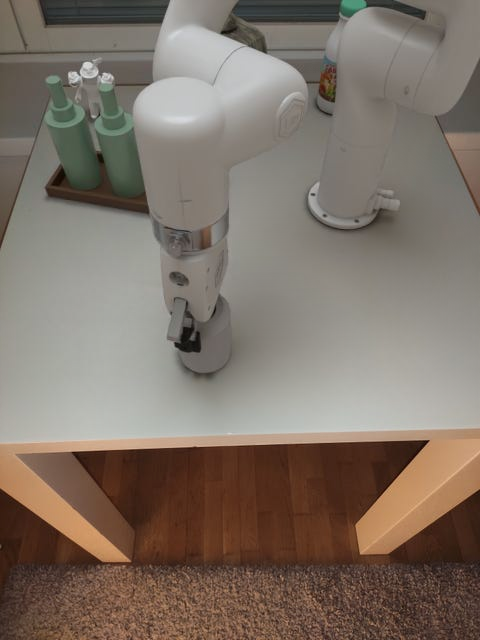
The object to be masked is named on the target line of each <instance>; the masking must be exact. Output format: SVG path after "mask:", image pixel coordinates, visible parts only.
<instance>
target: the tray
mask: <svg viewBox="0 0 480 640" xmlns="http://www.w3.org/2000/svg"><path fill="white" fill-rule="evenodd" d="M96 152H97V156H98V159H99V162H100V166H101V169H102V173H103V181H102V183H101V184H100V185H99V186H97V187H96V188H94V189H91V190H87V191H81V190H75V189H73V188H72V187H71V186H70V185H69V183H68V180H67V178H66V175H65V172H64V170H63V167H62V164H61V162H60V164H59V165H58V166H57V167H56V169H55V171H54V172H53V174H52V175H51V177H50V178H49V180H48V182H47V183H46V184H45V186H44V190H45V192H46V195H47V196H48V197H51V198H54V199H55V198H56V199H61V200H66V201H67V200H68V201H74V202H78V203H85V204H91V205H95V206H101V207H107V208H113V209H118V210H124V211H130V212H136V213H141V214H148V215H150V213H149V207H148V202H147V196H146V191H144V192H143V193H142V194H141V195H139V196H137V197H134V198H121V197H118V196H117V195H115V194H114V193H113V191H112V188H111V184H110V181H109V177H108V174H107V170H106V166H105V163H104V159H103V156H102V152H101V150H96Z"/></svg>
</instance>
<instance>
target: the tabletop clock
mask: <svg viewBox="0 0 480 640" xmlns="http://www.w3.org/2000/svg"><path fill="white" fill-rule="evenodd" d="M239 1H240V0H239ZM239 1H238V2H237V3H236V4H235V6H234V7H233V9H232V11H231V12H230V14H229V15H228V17H227V19H226V21H225V23H224V26H223V28H222V30H221V33H220V35H223V36H225V37H228V38H230V39H232V40H235V41H237V42H240V43H242V44H244V45H247V46H249V47H251V48H253V49H255V50H258V51H260V52H263V53H265V54H268V47H267V41H266V36H265V35H264V33H263V32H262V31H261V30H260V29H259V28H258V27H256V25H253V24H252V23H250V22H248V21H246V20H244V19H242V18H240V17H238V16H236V14H235V13H234V12H233V11H234V10H235V9H237V8H238V5H239Z"/></svg>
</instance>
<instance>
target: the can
mask: <svg viewBox="0 0 480 640" xmlns="http://www.w3.org/2000/svg"><path fill="white" fill-rule="evenodd" d="M187 310H189V306H188V308H187ZM191 323H192V319H190V318H186V317H185V321H184V326H185V327H190V328H191ZM197 331H199V332H200V338H201V351H200V353H196V352H191V353H186V352H182V351H180V350H179V349H178V348H177V350H178V354H179V358H180V361H181V362H182V363H183V365H184V366H185V367H186V368H187V369H189V370H190V371H193V372H195V373H198V374H210V373H213V372H216V371H218V370H220V369H222V368H223V367H225V365H226V364H227V363H228V362H229V360H230V357H231V355H232V310H231V307H230V303H229V302H228V301H227V299H226V298H225V297H224V296H222V294H221V293H220V292H219V295H218V298H217V301H216V305H215V307H214V310H213V313H212V316H211V317H210V319H209V320H208V321H206V322H201V321H198V328H197Z"/></svg>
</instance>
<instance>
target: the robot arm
mask: <svg viewBox="0 0 480 640" xmlns="http://www.w3.org/2000/svg"><path fill="white" fill-rule="evenodd" d="M238 1H240V0H169V3H168V6H167V8H166V11H165V14H164V17H163V20H162V22H161V23H162V24H161V27H160V30H159V32H158V37H157V40H156V44H155V48H154V53H153V59H152V81H153V82H152V83H151V84H149V85H147V86H146V87H144V88H143V89H142V90H141V91H140V92H139V93H138V95H137V97H136V98H135V100H134V102H133V106H132V112H131V114H132V115H131V116H132V118H133V126H134V132H135V138H136V143H137V148H138V154H139V159H140V165H141V170H142V175H143V181H144V186H145V191H146V196H147V202H148V207H149V213H150V214H149V216H150V217H149V218H150V223H151V228H152V234H153V237H154V239H155V241H156V242H157V244H158V245H159V250H160V251H159V253H160V256H159V257H160V258H159V259H160V274H161V275H160V276H161V284H162V293H163V300H164V303H165V308H166V310H167V312H168V313H169V315H171V316H170V319H169V325H168V328H167V333H166V340H167V341H169V342H172V343H173V346H174V348H176V349H177V350H178V349H179V350H180V351H182V352H186V353H191V352H196V353H200V351H201V338H200V332H199V331H197V328H198V321H201V322H206V321H208V320H209V319H210V317H211V316H212V313H213V310H214V307H215V305H216V301H217V298H218V295H219V293H220V292H221V290H222V289H221V288H222V285H223V282H224V280H225V276H226V272H227V269H228V264H229V245H228V234H229V232H230V231H229V230H230V170H231V169H232V168H233V167H235V166H237V165H240V164H242V163H245V162H246V161H249V160H252V159H254V158H256V157H259V156H261V155H263V154H266V153H268V152H270V151H272V150H274V149H276V148H278V147H279V146H281V145H282V144H283V143H284V142H286V141H287V140H288V139H289V138H291V137H292V136H294V134H295V133H296V132H297V130H298V129H299V128H300V126H301V124H302V122H303V119H304V118H305V115H306V114H307V113H306V112H307V109H308V104H309V89H308V85H307V82H306V80H305V78H304V77H303V75H302V74H301V73H300V71H298V70H297V69H296V68H295V67H294V66H293V65H291V64H290V63H288V62H286V61H284V60H281V59H280V58H277V57H275V56H272V55H270V54H268V53H267V54H265V53H263V52H260V51H258V50H255V49H253V48H251V47H249V46H247V45H244V44H242V43H240V42H237V41H235V40H232V39H230V38H228V37H225V36H223V35H220V33H221V30H222V28H223V26H224V23H225V21H226V19H227V17H228V15H229V14H230V12H231V11H232V12H233V10H232V9H233V7H234V6H235V4H236V3H237V2H238ZM394 1H396V2H398V3H401V4H404V5H406V6H410V7H413V8H415V9H417V10H421V11H424V12H428V13H431V14H433V15H437V16H440V17H442V18H443V19H444V22H445V27H444V26H441V25H438V24H435V23H432V22H430V21H426V20H423V19H422V18H420V17H417V16H413V15H410V14H407V13H404V12H402V11H398V10H395V9H393V8H387V7H383V6H382V7H381V6H368V7H366V8H365V9H362V10H360V11H358V12H357V13H355V14H354V15H353V16H352V17H351V18H350V19H349V20H348V22H347V23H346V25H345V26H344V28H343V31H342V33H341V36H340V39H339V43H338V49H337V86H336V97H335V104H334V110H333V114H332V116H331V121H330V126H329V132H328V137H327V142H326V148H325V153H324V156H323V157H324V158H323V161H322V162H323V163H322V168H321V174H320V179H319V180H318V181H317V182H316V183H315V184H314V185H312V186H311V188H310V189H309V191H308V195H307V207H308V209H309V211H310V213H311V214H312V216H313V217H314V218H315V219H317V220H318V221H319V222H321V223H322V224H324V225H326V226H328V227H331V228H335V229H341V230H356V229H360V228H362V227H366V226H367V225H368V224H370V223H372V221H374V219H375V218H376V217H377V215H378V212H379V210H380V209H383V210H387V211H390V212H391V211H392V212H399V210H400V207H401V200H400V199H395V198H394V199H393V197H394V190H389V189H381V187H379V186H378V185H379V180H380V178H381V177H380V176H381V174H382V171H383V168H384V164H385V161H386V158H387V154H388V152H389V149H390V145H391V142H392V139H393V136H394V134H395V130H396V126H397V122H398V108H397V105H400V106H403V107H405V108H408V109H410V110H412V111H415V112H418V113H420V114H423V115H426V116H431V117H438V116H439V117H440V116H442V115H445V114H446V113H448V112H450V111H451V110H452V109H453V108H454V107H455V106H456V105H457V103H458V102H459V100H460V99H461V97H462V96H463V94H464V92H465V90H466V88H467V86H468V84H469V82H470V80H471V78H472V75H473V73H474V71H475V70H476V67H477V64H478V63H479V60H480V0H394ZM238 3H239V2H238ZM188 306H189V310H187V308H188ZM185 317H186V318H190V319H192V323H191V328H190V327H185V326H184V321H185ZM179 350H178V351H179Z"/></svg>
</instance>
